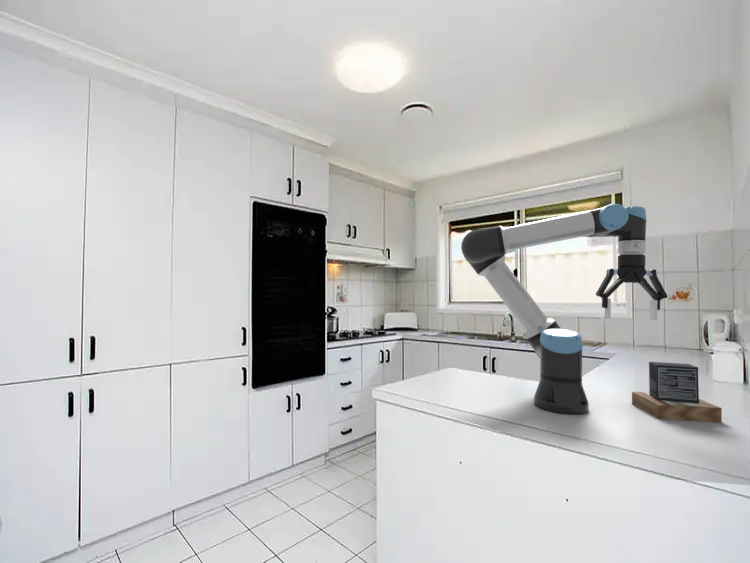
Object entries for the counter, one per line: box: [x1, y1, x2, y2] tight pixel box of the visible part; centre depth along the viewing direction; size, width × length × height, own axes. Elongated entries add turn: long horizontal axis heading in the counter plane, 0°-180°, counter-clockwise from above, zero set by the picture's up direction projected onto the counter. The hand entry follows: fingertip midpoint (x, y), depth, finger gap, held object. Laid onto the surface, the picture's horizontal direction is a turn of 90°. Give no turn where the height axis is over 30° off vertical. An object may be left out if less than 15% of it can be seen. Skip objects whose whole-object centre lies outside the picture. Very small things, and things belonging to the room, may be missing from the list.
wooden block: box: [631, 391, 723, 423], centre depth 113 cm, size 16×14×4 cm
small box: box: [648, 361, 700, 403], centre depth 113 cm, size 11×6×10 cm, turn 72°
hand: (630, 319), depth 124 cm, fingers open, 13 cm apart
